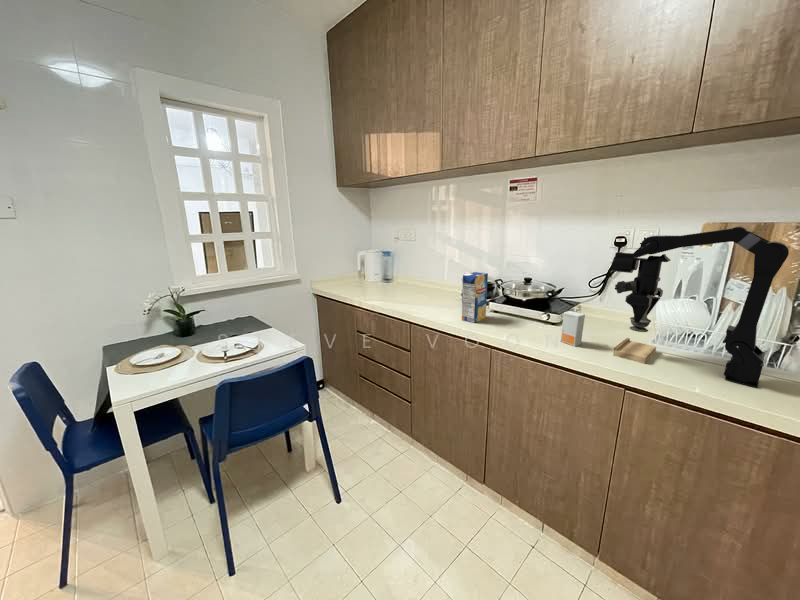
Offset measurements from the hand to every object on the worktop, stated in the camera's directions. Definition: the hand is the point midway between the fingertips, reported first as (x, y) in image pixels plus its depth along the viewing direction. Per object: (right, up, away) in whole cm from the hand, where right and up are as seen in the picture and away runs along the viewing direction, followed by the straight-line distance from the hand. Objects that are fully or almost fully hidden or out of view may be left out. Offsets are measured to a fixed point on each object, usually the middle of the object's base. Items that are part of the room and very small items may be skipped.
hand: (640, 319), depth 108 cm
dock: (0, -12, +3) cm, 13 cm away
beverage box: (-47, -3, +45) cm, 65 cm away
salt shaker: (0, -4, +1) cm, 4 cm away
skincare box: (-17, -10, +14) cm, 24 cm away
